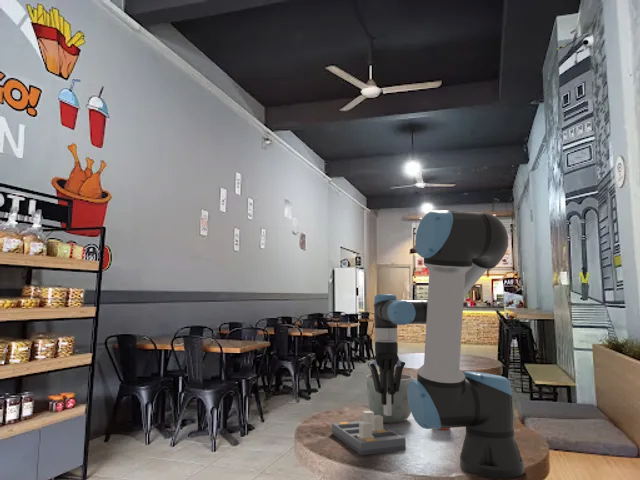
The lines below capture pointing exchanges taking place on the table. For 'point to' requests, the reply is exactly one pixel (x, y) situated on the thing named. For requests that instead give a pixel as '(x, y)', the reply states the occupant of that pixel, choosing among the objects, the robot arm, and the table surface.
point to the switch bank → (368, 439)
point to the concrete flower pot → (400, 399)
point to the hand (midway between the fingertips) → (387, 414)
